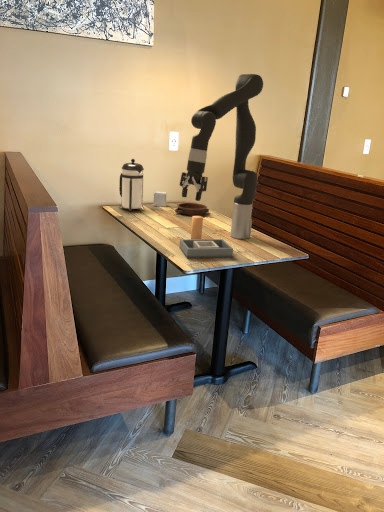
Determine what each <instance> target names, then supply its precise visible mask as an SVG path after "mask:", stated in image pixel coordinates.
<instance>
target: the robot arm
mask: <svg viewBox="0 0 384 512" xmlns="http://www.w3.org/2000/svg"><path fill="white" fill-rule="evenodd" d="M263 88H264V81H263V78H262V76H261V75H260V74H255V73H246V74H245V73H244V74H243V73H242V74H240V75H238V76H237V79H236V81H235V89H234V91H231V92H229V93H226V94H224V95H222V96H220V97H218V98H217V99H216V100H215V101H213V102H212V103H211V104H209V105H206V106H204V107H202V108H200V109H198V110H197V111H195V112H194V113H193V114H192V116H191V120H190V121H191V125H192V126H193V128H195V129H198V130H199V132H198V133H197V134H194V135H193V136H192V137H191V145H190V149H189V153H188V158H187V165H186V172H185V171H184V172H181V175H180V180H179V186H180V187H181V188H182V192H181V198H187V195H188V191H189V190H188V188H189V187H190V186H192V185H193V186H194V187H195V189H196V193H195V198H194V199H195V201H196V202H200V201H201V200H202V195H203V192H207V187H208V179H209V177H207V176H203V174H204V173H205V169H206V163H207V157H208V155H207V154H208V153H207V152H208V148H209V141H210V140H211V137H212V136H213V135H212V134H213V132H214V130H215V127H216V123H217V121H218V120H220V119H222V118H223V117H224V116H226V115H227V114H228V113H229V112H230V111H232V110H233V109H235V108H236V116H235V118H236V121H235V124H236V125H235V148H234V149H235V150H234V163H233V170H232V184H233V186H234V187H235V188H237V189H240V190H241V189H242V192H241V194H238V195H235V196H234V199H233V206H232V208H233V209H232V216H231V226H230V234H229V235H230V237H231V238H233V239H237V240H247V239H251V235H252V234H251V233H252V226H253V225H252V224H253V219H252V214H253V212H252V211H253V205H254V204H253V201H254V200H255V197H256V191H257V186H258V175H257V173H256V172H255V171H253V170H249V169H246V163H247V159H248V156H249V154H250V152H251V151H252V149H253V147H254V146H255V142H256V138H257V137H256V136H257V135H256V134H257V126H256V123H255V120H254V118H253V115H252V113H251V110H250V106H249V101H250V100H251V99H252V98H253V99H254V98H255V97H257V96H258V95H260V94H261V92H262V91H263Z"/></svg>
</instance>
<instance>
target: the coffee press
mask: <svg viewBox="0 0 384 512" xmlns="http://www.w3.org/2000/svg"><path fill="white" fill-rule="evenodd" d="M130 161H131V162H125V163H123V165H122V167H121V171H122V172H120V175H119V187H118V189H119V196H120V197H121V204H120V206H119V207H118V208H119V209H120V210H122V209H123V208H124V209H128V212H129V213H131V212H132V210H135V209H141V211H143V209H145V206H143V201H144V200H143V198H144V170H145V168H144V166H143V165H142V164H141V163H137V162H136V160H135V158H131V160H130Z"/></svg>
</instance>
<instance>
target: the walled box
mask: <svg viewBox="0 0 384 512" xmlns="http://www.w3.org/2000/svg"><path fill="white" fill-rule="evenodd" d="M179 250H180V251H181V252H182V254H183V255H184V257H185V258H186V259H226V258H227V259H228V258H229V259H230V258H231V259H232V258H233V255H234V248H233V247H232V246H231V245H230V244H229V243H228V242H227V241H225V239H223V238H218V239H217V238H215V239H212V238H205V239H204V238H203V239H202V238H201V239H191V238H190V239H186V238H185V239H179Z"/></svg>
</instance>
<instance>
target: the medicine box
mask: <svg viewBox="0 0 384 512" xmlns="http://www.w3.org/2000/svg"><path fill="white" fill-rule="evenodd" d="M152 205H153V207H165V208H166V207H167V192H166V191H154V193H153V204H152Z"/></svg>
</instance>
